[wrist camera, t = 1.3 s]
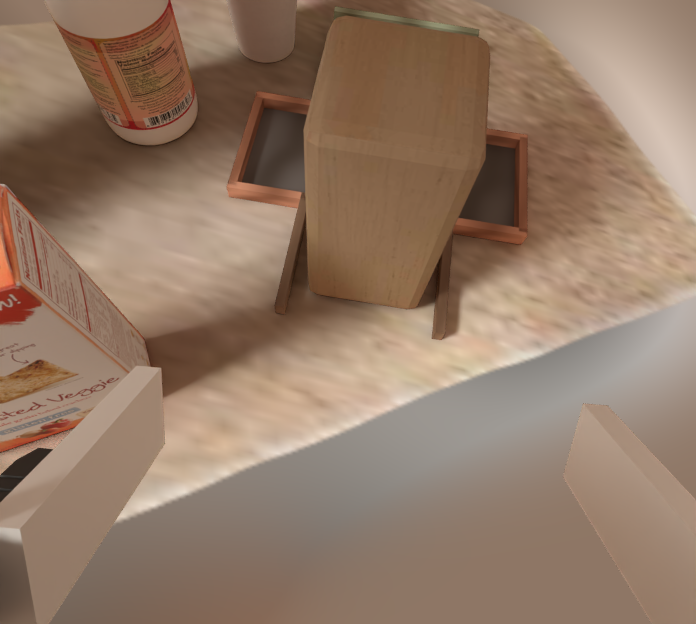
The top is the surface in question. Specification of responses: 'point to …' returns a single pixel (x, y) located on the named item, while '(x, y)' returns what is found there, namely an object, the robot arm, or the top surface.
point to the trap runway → (289, 175)
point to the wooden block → (390, 155)
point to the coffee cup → (264, 28)
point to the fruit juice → (131, 65)
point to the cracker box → (53, 333)
